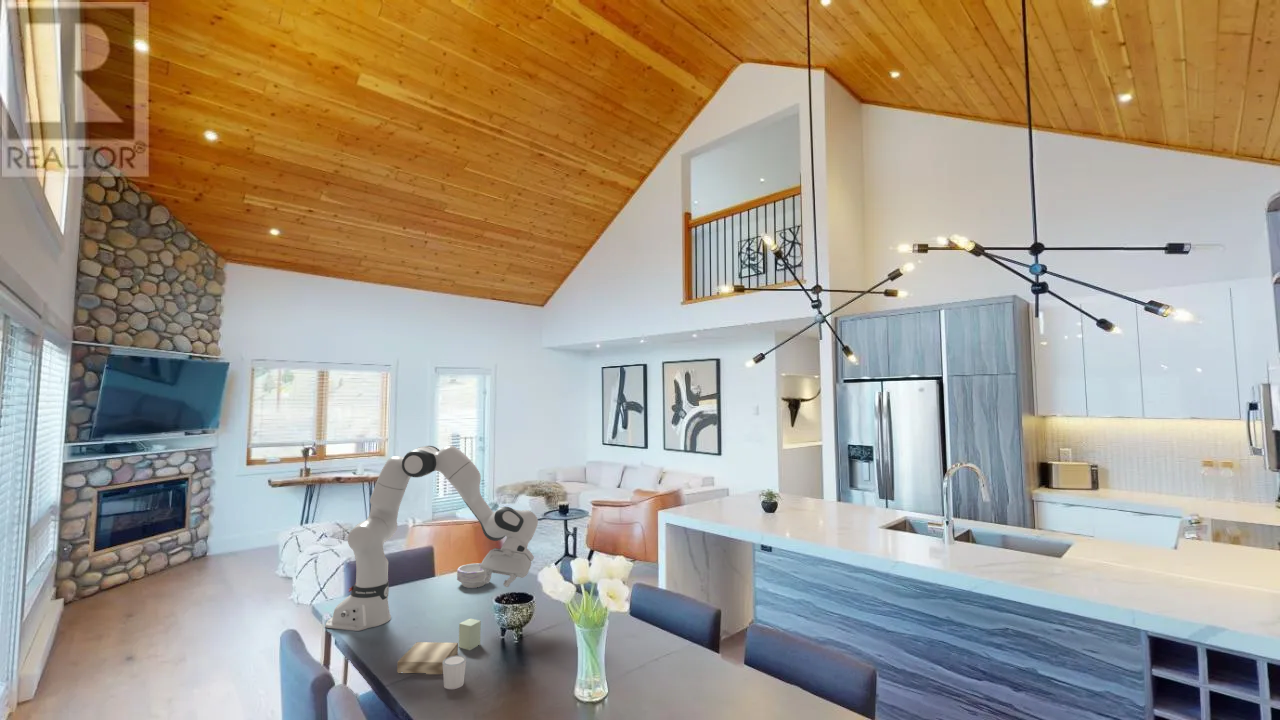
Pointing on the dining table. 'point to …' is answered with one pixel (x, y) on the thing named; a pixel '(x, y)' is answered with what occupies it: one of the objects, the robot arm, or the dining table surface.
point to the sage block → (469, 634)
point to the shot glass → (454, 671)
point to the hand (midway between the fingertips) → (495, 584)
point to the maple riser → (426, 657)
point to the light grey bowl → (471, 575)
